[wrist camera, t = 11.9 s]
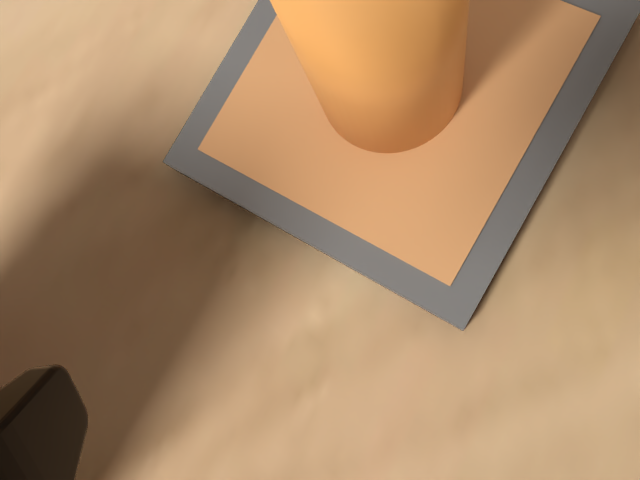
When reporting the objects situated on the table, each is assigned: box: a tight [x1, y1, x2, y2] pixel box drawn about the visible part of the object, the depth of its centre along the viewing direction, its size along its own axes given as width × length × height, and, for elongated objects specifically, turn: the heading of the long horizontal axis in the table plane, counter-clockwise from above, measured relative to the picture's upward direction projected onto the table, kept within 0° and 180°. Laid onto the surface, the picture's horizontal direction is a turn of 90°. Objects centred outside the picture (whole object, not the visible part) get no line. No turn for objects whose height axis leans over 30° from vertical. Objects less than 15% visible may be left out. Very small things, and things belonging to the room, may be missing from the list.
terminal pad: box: [163, 0, 640, 331], centre depth 21 cm, size 12×12×1 cm
